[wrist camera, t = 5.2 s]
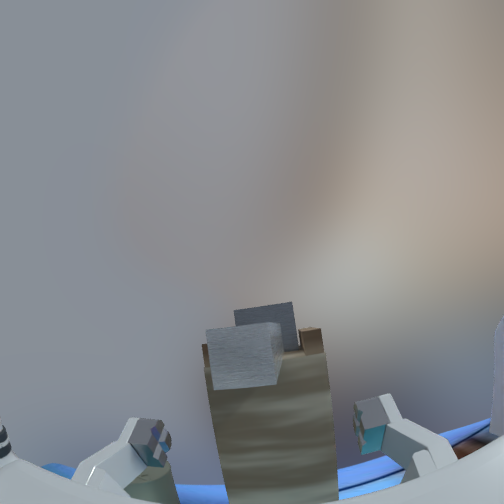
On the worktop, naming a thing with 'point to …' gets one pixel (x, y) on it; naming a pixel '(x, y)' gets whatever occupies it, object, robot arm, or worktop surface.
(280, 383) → the post
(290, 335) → the steel bar
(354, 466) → the worktop surface
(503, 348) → the milk
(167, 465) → the can
